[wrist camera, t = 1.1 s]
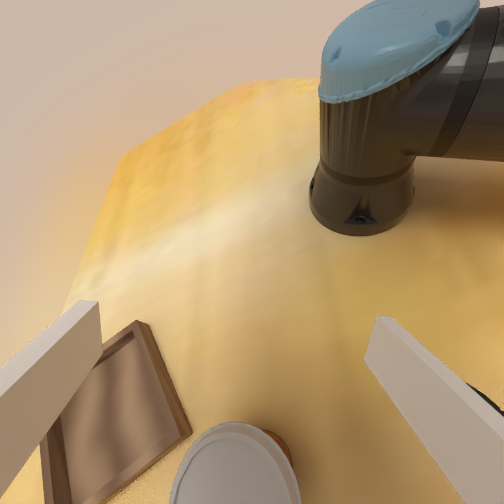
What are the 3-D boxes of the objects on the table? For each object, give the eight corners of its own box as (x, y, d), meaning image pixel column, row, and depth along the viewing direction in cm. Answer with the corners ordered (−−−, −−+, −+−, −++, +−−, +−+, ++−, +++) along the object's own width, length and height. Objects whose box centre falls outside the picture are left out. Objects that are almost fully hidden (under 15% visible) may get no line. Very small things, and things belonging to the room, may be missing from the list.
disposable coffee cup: (212, 512, 25) (140, 594, 15) (230, 405, 29) (183, 411, 19) (307, 545, 22) (296, 671, 12) (311, 422, 27) (306, 440, 17)
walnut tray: (148, 324, 37) (136, 319, 35) (192, 432, 29) (180, 436, 26) (55, 393, 36) (35, 393, 33) (73, 529, 27) (48, 543, 25)
